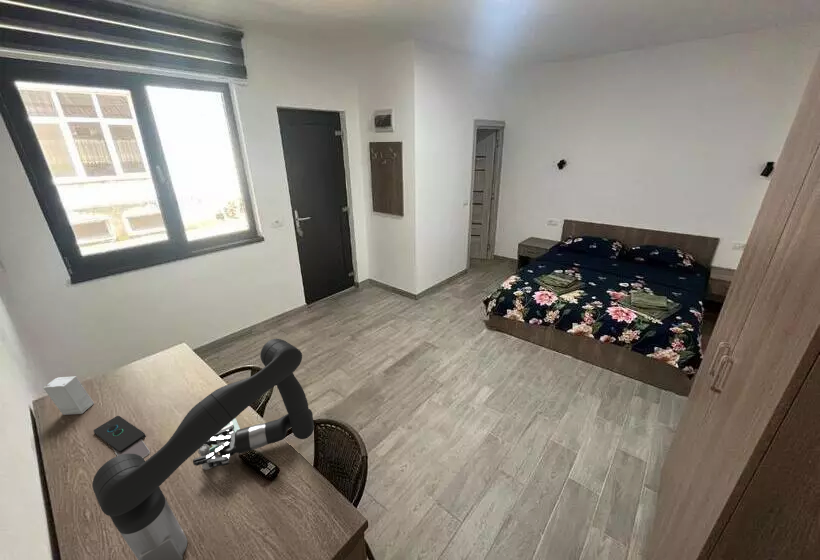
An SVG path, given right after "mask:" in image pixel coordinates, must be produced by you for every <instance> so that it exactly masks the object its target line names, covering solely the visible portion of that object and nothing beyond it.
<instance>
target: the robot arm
mask: <svg viewBox="0 0 820 560" xmlns="http://www.w3.org/2000/svg"><path fill="white" fill-rule="evenodd" d="M259 355H260V357H259V358H260V360H261V362H262V364H263V366H264V367H263V368H262V369H260V370H259V371H258V372H256V373H254V374H253V375H251V376H249V377H246V378H244V379H241V380H238V381H234V382H232V383H229V384H226V385H222V386H221V387H218V388H217V389H215V390H214V391H212V392H210V394H208V395H207V396H206V397H204V398H203V399H201V400H200V401H199V402H198V403H197V404H195V405H194V406H193V407H192V408H191V409H190V410H189V411H188V412H187V414H186V415H185V416H184V418H183V419H182V421H180V424H179V425H178V427H177V428H176V430H175V431H174V433H173V434H172V436H170V438H169V439H168V441H167V442H166V443H165V444H164V445H163V446H162V447H161V448H160V449H158V451H157V452H155V453H154V454H153V455H151V456H150V457H149V458H148V459H147V460H146V461H145V459H144V458H142V457H141V456H139V455H137V454H122V455H119V456H117V455H116V456H114V457H113V458H111V459H108V460H107V462H106V461H105V463H103V464H102V465H101V467H100V468H99V469H98V470H97V471H96V473H95V474H94V477H93V480H92V486H91V487H92V490H93V493H94V496H95V499H96V500H97V503H98V505H99V507H100V510H101V511H102V513H104V515H106V516H108V517H110V519H111V521H112V524H113V525H114V526H115V528H116V529H117V530H118V532H119V533H120V535H121V536H122V538H123V539H124V541H125V543H126V544H127V546H128V548H129V549H130V550H131V552H132V553H133V554H134V556H135V558H136V559H137V560H184V557H183V556H184V553H185V552H186V549H187V547H188V539H187V536H186V533H185V532H184V530H183V528H182V526H181V525H180V523H179V521H178V519H177V517H176V516H175V514H174V512H173V510H172V508H171V506H170V504H169V503H168V500H167V499H166V496H165V495H164V493H163V491H162V489H161V488H160V487H161V485H163V483H164V482H165V481H166V480H167V479H168V478H170V476H171V475H172V474H174V472H175V471H176V470H177V469H178V468H180V467H181V465H183V463H185V462H186V461H187V460H188V459H189V458H190V457H191V456H192V455H194V454H195V453H196V452H198V451H199V448H201V446H203V445H204V444H205V445H206V444H207V445H209V446H211V445H218V446H219V447H218V448H217V449H215V450H214V451H212V452H210V453H211V454H209V455H207V456H206V455H205V456H198V457H196V458H193V459H192V463H193V465H194V466H202V464H205V463H208V465H209V467H210V468H211V467H213V468H216V467H221V466H222V467H223V466H227V465H229V464H230V463H231V461H230V458H231V456H234V455H235V454H239V455H241V454H244V453H247V452H250V451H254V450H256V449H261V448H263V447H265V446H268V445H271V444H273V443H277V442H281V441H282V440H284V439H286V437H287V436H286V435H287V433H288V430H290V429H291V430H292V431H291V432H292V434H293V435H294V437H295V438H296V439H298V440H306V439H308V438H309V437H311V436H312V435H313V432H314V430H315V423H314V414H313V411H312V410H311V409H310V408H309V402H308V399H307V395H306V393H305V391H304V388H303V387H302V385H301V383H300V382H299V381H298V379H297V377H296V376H295V374H294V372H295V371H296V370H297V369H298V368H299V366H300V365H301V363H302V361H303V354H302V352H301V350H300V349H299V348H298V347H296V346H294V345H293V344H291V343H289V342H288V341H286V340H284V339H282V338H273V339H270V340H268V341H267V342H265V344H264V345H263V346H262V348H261V350H260V353H259ZM274 387H277V390H278V392H279V394H280V396H281V399H282V402H283V405H284V407H285V410H286V412H287V414H285V415H283V416H281V417H280V418H277V419H274V420H271V421H268V422H267V421H266V422H263V423H258V424H257V423H256V424H253V425H251V426H246V427H243V428H240V429H239V430H237V431H236V432H234V429H233V426H230V427H228V428H225V429H223V428H224V427H225V426H226V425H228V424H229V423H230V422H231V421H232V420H233V419H235V418H236V419H237V417H238V416H239V415H240V414H241V413H242V412H244V411H245V410H246V409H247V408H249V407H250V406H251V405H253V403H255V401H257V400H259V398H261V397H262V396H264V394H266V393H268V392H269V391H270V390H271V389H273V388H274ZM222 429H223V430H222ZM219 434H222V435H219ZM218 435H219V436H218ZM213 456H214V457H213ZM211 457H213V458H211ZM214 462H215V463H214ZM211 469H212V468H211Z"/></svg>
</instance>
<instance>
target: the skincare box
mask: <svg viewBox="0 0 820 560" xmlns="http://www.w3.org/2000/svg"><path fill="white" fill-rule="evenodd" d="M43 390H44V392H45V393H46V394H47V396H49V398H50V400H51V401H52V402H53V404H54V405H55V406H56V407H57V409H58V410H59V411H60V413H61V414H62V416H65V415H66V416H67V415H82V414H83V413H85V412H86V411H87V410H88V409H89V408H91V407H92V406H93V405H94V404H95V402H94V400H93V399H92V398H91V396H90V395H89V393H88V392H87V391H86V389H85V387H84V386H83V385H82V383H81V381H80V380H79V378H78V376H76V375H75V376H62V377H61V376H59V377H56V378H54V379H52V380H51V381H50V382H49V383H47V384H46V385H45V386H43Z"/></svg>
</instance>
